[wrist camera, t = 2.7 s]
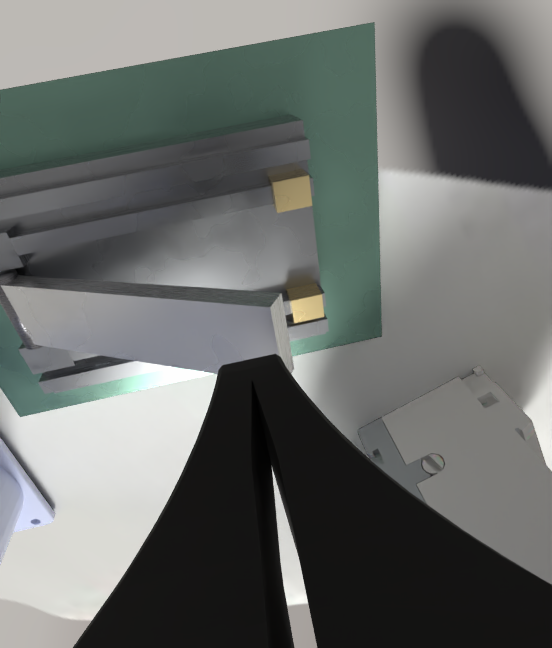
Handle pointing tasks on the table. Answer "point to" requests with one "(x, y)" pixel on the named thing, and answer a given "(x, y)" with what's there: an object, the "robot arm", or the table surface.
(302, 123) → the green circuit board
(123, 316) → the grey flat bar
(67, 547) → the table surface
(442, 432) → the circuit breaker
